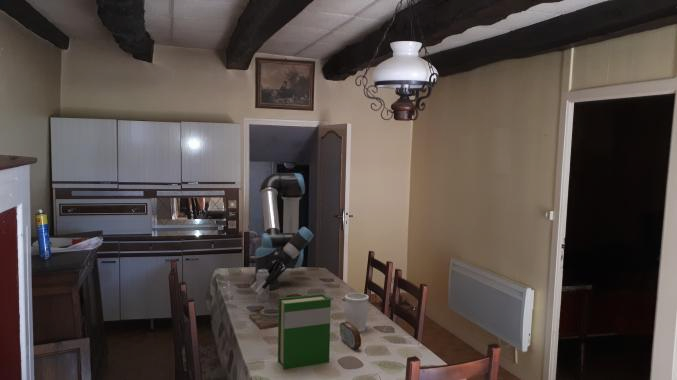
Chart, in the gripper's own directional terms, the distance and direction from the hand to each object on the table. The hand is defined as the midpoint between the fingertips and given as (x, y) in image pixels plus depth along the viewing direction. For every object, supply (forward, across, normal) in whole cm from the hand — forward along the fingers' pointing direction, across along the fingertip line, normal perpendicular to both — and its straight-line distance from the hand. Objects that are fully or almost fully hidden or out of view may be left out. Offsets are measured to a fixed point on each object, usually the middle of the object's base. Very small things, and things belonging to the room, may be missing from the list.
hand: (255, 291), depth 237 cm
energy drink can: (+1, 0, -6) cm, 7 cm away
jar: (-16, -38, -31) cm, 52 cm away
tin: (-9, -52, -23) cm, 57 cm away
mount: (+5, -13, -10) cm, 17 cm away
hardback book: (+8, -59, -6) cm, 60 cm away
